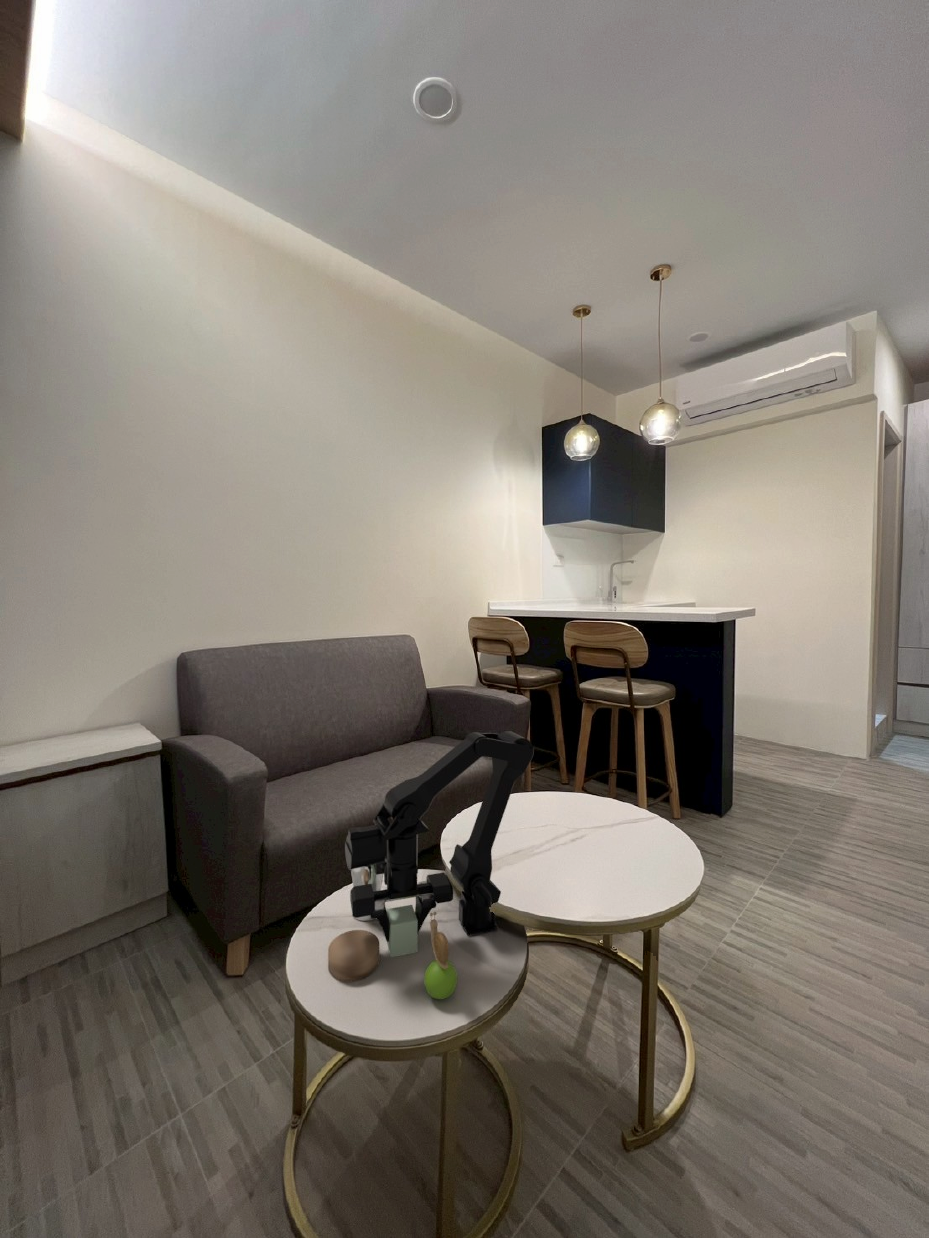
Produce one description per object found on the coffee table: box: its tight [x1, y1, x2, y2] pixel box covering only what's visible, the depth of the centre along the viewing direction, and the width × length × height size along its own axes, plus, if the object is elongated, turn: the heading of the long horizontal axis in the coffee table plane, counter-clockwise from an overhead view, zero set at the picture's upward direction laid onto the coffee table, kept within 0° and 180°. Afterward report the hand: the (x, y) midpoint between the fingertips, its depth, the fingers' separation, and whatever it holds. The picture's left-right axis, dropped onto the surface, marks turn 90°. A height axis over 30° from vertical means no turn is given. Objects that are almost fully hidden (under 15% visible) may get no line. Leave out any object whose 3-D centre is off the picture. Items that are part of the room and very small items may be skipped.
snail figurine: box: [423, 911, 458, 1000], centre depth 83 cm, size 5×6×12 cm
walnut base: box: [327, 929, 380, 983], centre depth 90 cm, size 9×9×3 cm
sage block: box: [386, 904, 418, 958], centre depth 94 cm, size 5×5×6 cm
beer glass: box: [350, 865, 384, 922], centre depth 104 cm, size 7×7×15 cm
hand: (401, 937), depth 95 cm, fingers closed on sage block, 5 cm apart
